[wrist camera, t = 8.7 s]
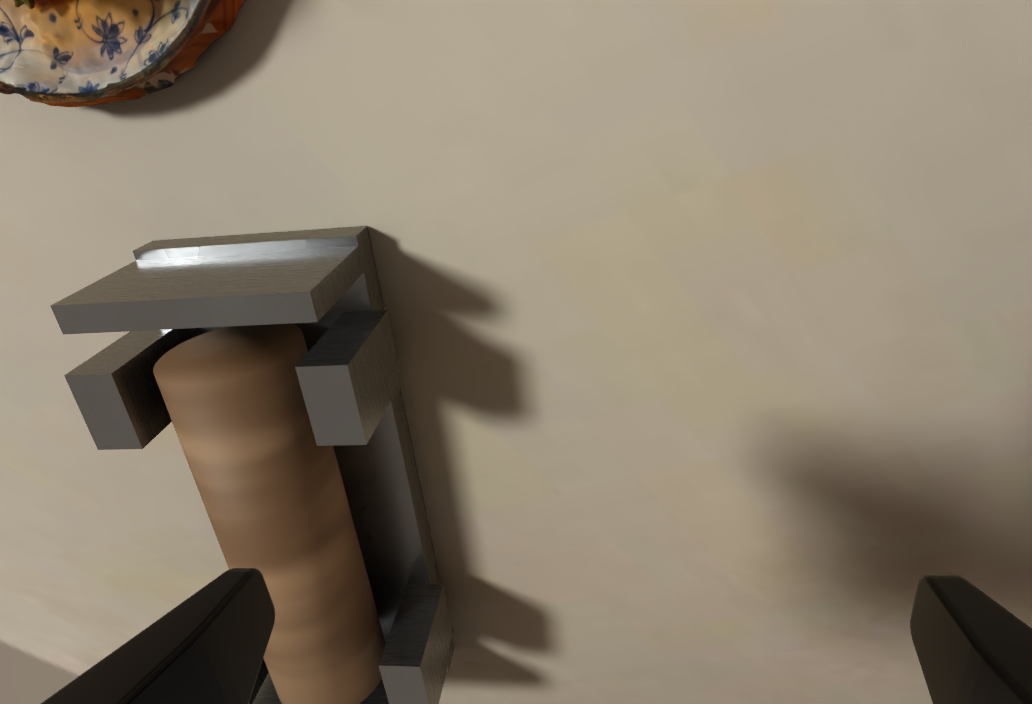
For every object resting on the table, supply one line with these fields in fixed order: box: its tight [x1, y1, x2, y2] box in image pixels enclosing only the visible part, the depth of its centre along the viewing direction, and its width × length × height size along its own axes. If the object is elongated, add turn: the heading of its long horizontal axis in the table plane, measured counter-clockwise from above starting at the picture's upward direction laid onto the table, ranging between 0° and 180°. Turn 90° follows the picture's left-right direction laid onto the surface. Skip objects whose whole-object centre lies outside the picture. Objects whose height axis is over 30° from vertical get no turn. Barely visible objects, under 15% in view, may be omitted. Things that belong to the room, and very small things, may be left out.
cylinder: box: [153, 324, 386, 704], centre depth 22 cm, size 13×4×4 cm, turn 6°
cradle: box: [51, 226, 454, 704], centre depth 22 cm, size 8×18×4 cm, turn 6°
